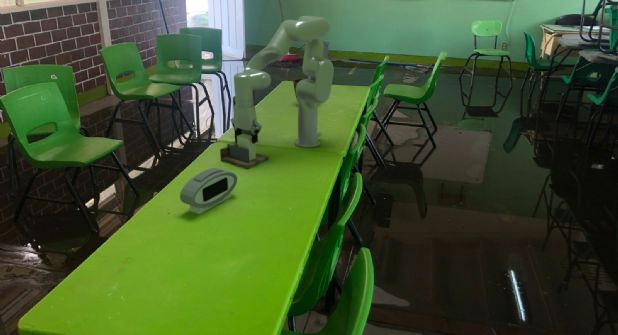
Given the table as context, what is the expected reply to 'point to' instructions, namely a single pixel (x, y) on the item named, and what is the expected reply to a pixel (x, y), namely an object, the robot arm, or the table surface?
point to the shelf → (240, 156)
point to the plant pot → (297, 83)
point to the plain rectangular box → (247, 144)
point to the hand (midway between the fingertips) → (246, 140)
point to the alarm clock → (208, 189)
